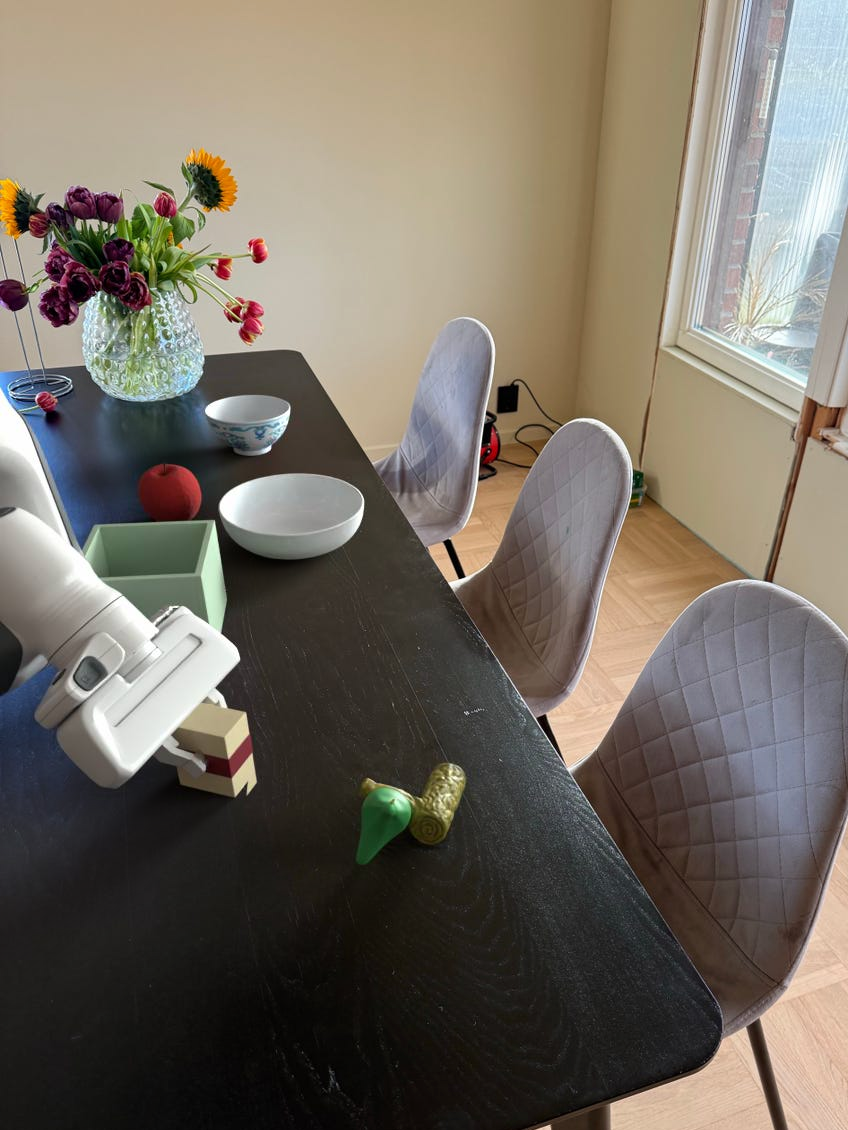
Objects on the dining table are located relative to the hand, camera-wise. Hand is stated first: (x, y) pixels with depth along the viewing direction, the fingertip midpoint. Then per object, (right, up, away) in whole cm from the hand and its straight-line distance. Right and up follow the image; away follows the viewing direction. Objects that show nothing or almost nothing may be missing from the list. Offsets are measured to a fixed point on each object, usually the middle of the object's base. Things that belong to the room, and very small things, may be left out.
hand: (219, 753), depth 85 cm
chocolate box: (-1, -4, +3) cm, 5 cm away
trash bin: (-15, +12, +26) cm, 32 cm away
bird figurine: (+19, -8, -3) cm, 21 cm away
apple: (-23, +30, +53) cm, 65 cm away
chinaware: (-17, +46, +78) cm, 93 cm away
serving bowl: (-2, +25, +47) cm, 54 cm away
